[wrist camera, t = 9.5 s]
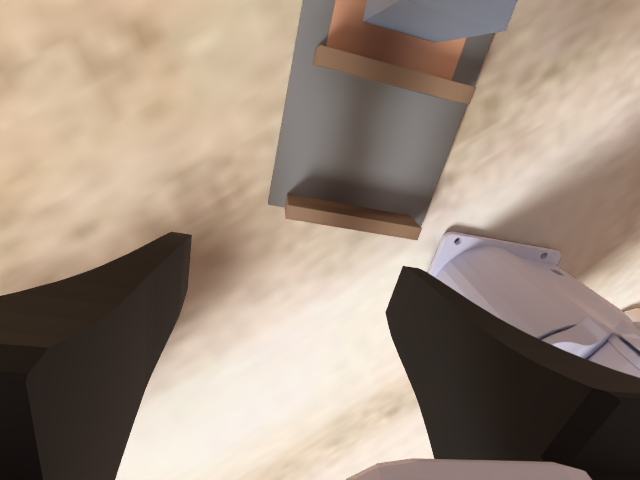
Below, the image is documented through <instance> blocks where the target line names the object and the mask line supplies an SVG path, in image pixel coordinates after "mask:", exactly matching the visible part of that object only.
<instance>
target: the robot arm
mask: <svg viewBox="0 0 640 480" xmlns="http://www.w3.org/2000/svg"><path fill="white" fill-rule="evenodd" d="M191 238H192V235H189V234H182V233H175V232H170V233H168V234H166V235H164V236H162V237H160V238H158V239H156V240H154V241H152V242H150V243H149V244H147V245H145V246H143V247H141V248H139V249H137V250H135V251H133V252H131V253H129V254H127V255H125V256H122V257H120V258H118V259H116V260H113V261H111V262H109V263H107V264H105V265H102V266H100V267H97V268H95V269H92V270H90V271H87V272H84V273H81V274H79V275H76V276H73V277H70V278H67V279H64V280H60V281H57V282H54V283H50V284H46V285H42V286H39V287H35V288H31V289H27V290H24V291H20V292H16V293H12V294H7V295H2V296H0V480H115V478H116V475H117V472H118V469H119V465H120V462H121V459H122V456H123V453H124V450H125V447H126V444H127V441H128V438H129V435H130V432H131V429H132V426H133V423H134V420H135V417H136V415H137V412H138V409H139V406H140V403H141V400H142V397H143V395H144V392H145V389H146V387H147V384H148V382H149V379H150V377H151V375H152V372H153V370H154V368H155V366H156V364H157V362H158V360H159V358H160V356H161V353H162V351H163V349H164V347H165V345H166V343H167V341H168V339H169V337H170V334H171V332H172V330H173V328H174V326H175V324H176V322H177V319H178V317H179V315H180V312H181V309H182V306H183V302H184V299H185V296H186V292H187V289H188V276H189V263H190V251H191ZM457 238H459V240H458V241H457V242H454V241H455V239H457ZM542 254H543V255H542ZM541 255H542V256H541ZM561 256H562V255H561V253H560V252H559V251H557V250H554V249H549V248H543V247H537V246H532V245H526V244H520V243H514V242H509V241H503V240H497V239H492V238H486V237H480V236H474V235H469V234H463V233H457V232H447V233H445V234H444V235H443V237H442V240H441V242H440V244H439V247H438V249H437V252H436V254H435V256H434V259H433V261H432V264H431V266H430V269H429V271H428V273H427V272H425V271H423V270H421V269H419V268H413V267H406V266H403V267H402V270H401V273H400V275H399V278H398V281H397V283H396V286H395V289H394V291H393V294H392V297H391V299H390V302H389V305H388V307H387V310H386V316H387V321H388V325H389V329H390V333H391V337H392V339H393V342H394V344H395V347H396V349H397V352H398V354H399V357H400V359H401V361H402V364H403V366H404V368H405V371H406V373H407V376H408V378H409V380H410V383H411V385H412V388H413V390H414V392H415V395H416V398H417V400H418V403H419V406H420V409H421V413H422V416H423V419H424V423H425V426H426V429H427V433H428V436H429V440H430V444H431V448H432V451H433V455H434V459H406V460H399V461H392V462H385V463H378V464H376V465H374V466H372V467H370V468H368V469H365V470H363V471H361V472H359V473H357V474H355V475H353V476H351V477H349V478H347V479H346V480H640V322H633V321H632V320H631V319H630V318H629V317H628V316H627V315H626V314H625V313H624V312H623V311H622V310H620V309H619V308H617V307H616V306H614V305H613V304H611V303H610V302H609V301H607V300H606V299H604V298H603V297H601V296H600V295H598V294H597V293H596V292H594V291H593V290H591V289H590V288H588V287H587V286H585V285H584V284H583V283H581V282H580V281H578V280H577V279H575V278H574V277H572V276H571V275H569V274H568V273H567V272H565V271H564V270H562V269H561V268H559V267H558V266H557V264H558V262H559V261H560V259H561Z"/></svg>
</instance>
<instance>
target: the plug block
mask: <svg viewBox="0 0 640 480" xmlns="http://www.w3.org/2000/svg"><path fill="white" fill-rule="evenodd" d="M516 3H517V0H367V3H366V8H365V12H364V16H363V21H362V22H365V23H368V24H372V25H375V26H378V27H382V28H385V29H389V30H392V31H396V32H399V33H403V34H406V35H410V36H413V37H417V38H420V39H424V40H427V41H431V42H434V43H438V42H444V41H450V40H455V39H461V38H467V37H472V36H478V35H484V34H489V33H495V32H501V31H506V29H507V26H508V23H509V21H510V18H511V16H512V13H513V10H514V8H515V5H516Z"/></svg>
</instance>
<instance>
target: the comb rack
mask: <svg viewBox="0 0 640 480" xmlns="http://www.w3.org/2000/svg"><path fill="white" fill-rule="evenodd" d="M366 3H367V0H303V3H302V8H301V14H300V20H299V26H298V32H297V37H296V43H295V49H294V55H293V60H292V66H291V72H290V78H289V84H288V89H287V95H286V101H285V107H284V113H283V118H282V124H281V130H280V136H279V142H278V147H277V153H276V159H275V165H274V170H273V176H272V182H271V188H270V194H269V199H268V205H274V206H279V207H285V216H286V219H292V220H298V221H304V222H310V223H316V224H322V225H328V226H334V227H340V228H346V229H352V230H358V231H364V232H370V233H376V234H382V235H388V236H395V237H401V238H407V239H413V240H418V237H419V234H420V232H421V229H422V228H421V225H422V222H423V220H424V217H425V214H426V212H427V209H428V207H429V204H430V201H431V199H432V196H433V193H434V191H435V188H436V185H437V183H438V180H439V178H440V175H441V172H442V170H443V167H444V164H445V162H446V159H447V157H448V154H449V151H450V149H451V146H452V143H453V141H454V138H455V135H456V133H457V130H458V128H459V125H460V122H461V120H462V117H463V114H464V112H465V109H466V106H467V104H470V101H471V98H472V96H473V93H474V90H475V88H476V87H474V85H475V83H476V80H477V78H478V75H479V72H480V70H481V67H482V64H483V62H484V59H485V56H486V54H487V51H488V49H489V46H490V43H491V41H492V38H493V35H494V33H489V34H484V35H478V36H472V37H467V38H461V39H455V40H450V41H444V42H438V43H434V42H431V41H427V40H424V39H420V38H417V37H413V36H410V35H406V34H403V33H399V32H396V31H392V30H389V29H385V28H382V27H378V26H375V25H372V24H368V23H365V22H362V21H363V16H364V12H365V8H366Z"/></svg>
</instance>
